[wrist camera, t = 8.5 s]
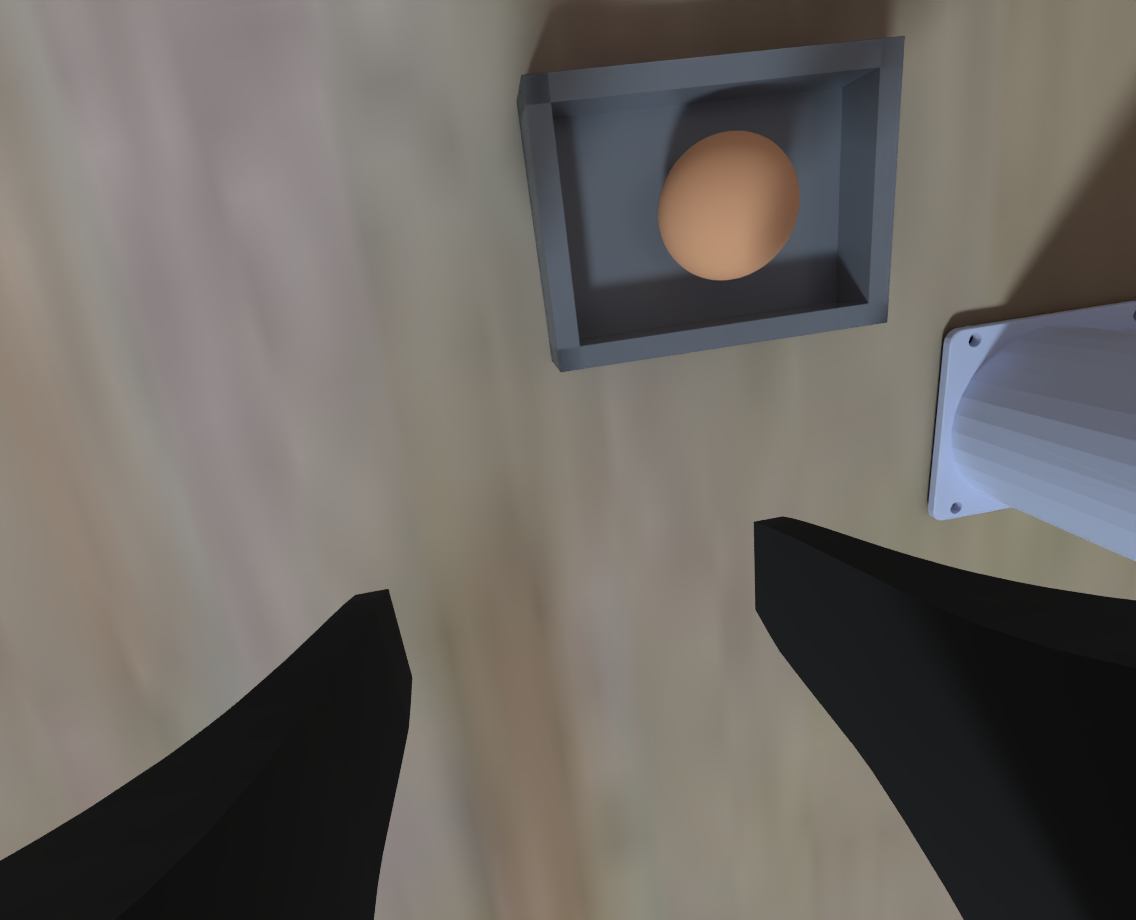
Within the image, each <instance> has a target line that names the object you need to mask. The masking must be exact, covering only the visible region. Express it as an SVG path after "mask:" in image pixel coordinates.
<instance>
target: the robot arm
mask: <svg viewBox="0 0 1136 920" xmlns="http://www.w3.org/2000/svg"><path fill="white" fill-rule="evenodd" d="M972 335H973V340H972V342H971V343H970V344H969V339H970V337H971V336H972ZM953 504H954V506H953V507H952V508H951V506H952V505H953ZM1010 507H1013V508H1015V509H1017V510H1020V511H1022V512H1024V513H1027V514H1029V515H1031V516H1033V517H1036V518H1038V519H1040V520H1043V521H1045V522H1047V523H1049V524H1052V525H1054V526H1056V527H1058V528H1061V529H1063V530H1065V531H1068V532H1070V533H1072V534H1074V535H1077V536H1079V537H1081V538H1084V539H1086V540H1088V541H1090V542H1093V543H1095V544H1097V545H1099V546H1102V547H1104V548H1106V549H1109V550H1111V551H1113V552H1115V553H1118V554H1120V555H1122V556H1125V557H1127V558H1129V559H1131V560H1134V561H1136V300H1133V301H1127V302H1120V303H1114V304H1107V305H1101V306H1094V307H1088V308H1082V309H1075V310H1069V311H1062V312H1056V313H1049V314H1043V315H1037V316H1030V317H1024V318H1017V319H1011V320H1004V321H998V322H991V323H985V324H979V325H972V326H966V327H959V328H955V329H953V330H951V331H950V332H949V333H948V334H947V336H946V337H945V340H944V345H943V356H942V366H941V377H940V388H939V398H938V409H937V419H936V430H935V440H934V451H933V461H932V472H931V482H930V493H929V503H928V513H929V514H930V516H932V517H934V518H936V519H938V520H947V519H952V518H958V517H963V516H968V515H974V514H979V513H984V512H989V511H995V510H1000V509H1005V508H1010ZM950 508H951V509H950ZM754 556H755V609H756V611H757V613H758V615H759V617H760V618H761V620H762V622H763V624H764V625H765V627H766V629H767V631H768V633H769V634H770V636H771V638H772V639H773V641H774V643H775V644H776V646H777V647H778V649H779V651H780V652H781V653H782V655H783V656H784V657H785V659H786V660H787V661H788V663H789V664H790V665H791V667H792V668H793V669H794V670H795V672H796V673H797V674H798V676H799V677H800V678H801V680H802V681H803V682H804V683H805V685H806V686H807V687H808V688H809V690H810V691H811V692H812V693H813V695H814V696H815V697H816V699H817V700H818V701H819V702H820V704H821V705H822V706H823V707H824V709H825V710H826V711H827V712H828V714H829V715H830V716H831V717H832V719H833V720H834V721H835V723H836V724H837V725H838V726H839V728H840V729H841V730H842V731H843V733H844V734H845V735H846V736H847V738H848V739H849V740H850V742H851V743H852V744H853V745H854V747H855V748H856V749H857V751H858V752H859V753H860V755H861V756H862V758H863V759H864V760H865V762H866V763H867V764H868V766H869V767H870V769H871V770H872V771H873V773H874V774H875V776H876V778H877V779H878V781H879V782H880V784H881V785H882V787H883V788H884V790H885V792H886V793H887V795H888V796H889V798H890V799H891V801H892V802H893V804H894V805H895V807H896V809H897V810H898V812H899V813H900V815H901V816H902V818H903V819H904V821H905V823H906V824H907V826H908V827H909V829H910V831H911V832H912V834H913V836H914V837H915V839H916V840H917V842H918V844H919V845H920V847H921V849H922V850H923V852H924V853H925V855H926V857H927V858H928V860H929V862H930V863H931V865H932V867H933V868H934V870H935V871H936V873H937V875H938V876H939V878H940V880H941V881H942V883H943V885H944V886H945V888H946V890H947V891H948V893H949V895H950V897H951V898H952V900H953V902H954V903H955V905H956V907H957V909H958V910H959V912H960V914H961V916H962V917H963V919H964V920H1136V600H1128V599H1119V598H1111V597H1104V596H1098V595H1091V594H1085V593H1078V592H1072V591H1065V590H1059V589H1053V588H1047V587H1041V586H1036V585H1030V584H1025V583H1020V582H1015V581H1011V580H1006V579H1001V578H997V577H992V576H988V575H983V574H978V573H974V572H970V571H966V570H962V569H958V568H954V567H950V566H946V565H942V564H939V563H935V562H932V561H928V560H925V559H921V558H917V557H914V556H910V555H907V554H904V553H901V552H897V551H894V550H891V549H888V548H884V547H881V546H878V545H875V544H872V543H869V542H866V541H863V540H860V539H857V538H854V537H851V536H848V535H845V534H842V533H839V532H836V531H833V530H830V529H827V528H823V527H820V526H817V525H814V524H811V523H807V522H804V521H800V520H797V519H793V518H788V517H778V518H772V519H767V520H761V521H756V522H754ZM411 690H412V675H411V671H410V667H409V664H408V660H407V656H406V653H405V649H404V645H403V641H402V638H401V634H400V630H399V627H398V623H397V619H396V615H395V612H394V608H393V604H392V601H391V597H390V593H389V590H388V589H385V590H380V591H374V592H369V593H364V594H358V595H355V596H354V597H352V598H351V599H350V600H349V601H347V602H346V603H345V604H344V605H343V606H342V607H341V608H340V609H339V610H338V611H337V612H335V613H334V614H333V615H332V616H331V617H330V618H329V619H328V620H327V621H326V622H325V623H324V624H323V625H322V626H321V627H320V628H319V629H318V630H317V631H316V632H315V633H314V634H313V635H312V636H310V637H309V638H308V639H307V640H306V641H305V642H304V643H303V644H302V645H301V646H300V647H299V648H298V649H297V650H296V651H295V652H294V653H293V654H292V655H290V656H289V657H288V658H287V659H286V660H285V661H284V662H283V663H282V664H281V665H280V666H278V667H277V668H276V669H275V670H274V671H273V672H272V673H270V674H269V675H268V676H267V677H266V678H265V679H264V680H262V681H261V682H260V683H259V684H258V685H257V686H256V687H254V688H253V689H252V690H251V691H250V692H249V693H248V694H247V695H245V696H244V697H243V698H242V699H241V700H240V701H239V702H237V703H236V704H235V705H234V706H232V707H231V708H230V709H229V710H228V711H226V712H225V713H224V714H223V715H221V716H220V717H219V718H218V719H216V720H215V721H214V722H212V723H211V724H210V725H209V726H207V727H206V728H205V729H203V730H202V731H201V732H199V733H198V734H197V735H195V736H194V737H193V738H191V739H190V740H189V741H187V742H186V743H185V744H183V745H182V746H181V747H179V748H178V749H177V750H175V751H174V752H172V753H171V754H170V755H168V756H167V757H165V758H164V759H163V760H161V761H160V762H158V763H157V764H155V765H154V766H152V767H151V768H149V769H148V770H146V771H145V772H143V773H141V774H140V775H138V776H137V777H135V778H134V779H132V780H131V781H129V782H128V783H126V784H125V785H123V786H122V787H120V788H119V789H117V790H116V791H114V792H113V793H111V794H110V795H108V796H107V797H105V798H104V799H102V800H101V801H99V802H98V803H96V804H95V805H93V806H92V807H90V808H89V809H87V810H85V811H84V812H82V813H81V814H79V815H77V816H76V817H74V818H72V819H71V820H69V821H67V822H66V823H64V824H62V825H61V826H59V827H57V828H56V829H54V830H52V831H51V832H49V833H47V834H46V835H44V836H42V837H41V838H39V839H37V840H36V841H34V842H32V843H30V844H29V845H27V846H25V847H23V848H22V849H20V850H18V851H17V852H15V853H13V854H11V855H10V856H8V857H6V858H4V859H3V860H1V861H0V920H374V913H375V904H376V895H377V887H378V880H379V874H380V868H381V862H382V856H383V851H384V846H385V841H386V836H387V831H388V827H389V822H390V817H391V812H392V808H393V803H394V798H395V793H396V788H397V784H398V779H399V774H400V769H401V764H402V759H403V754H404V749H405V744H406V739H407V734H408V729H409V718H410V706H411Z"/></svg>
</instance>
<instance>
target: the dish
mask: <svg viewBox="0 0 1136 920" xmlns="http://www.w3.org/2000/svg"><path fill="white" fill-rule="evenodd" d="M904 38H905V36H899V37H889V38H879V39H869V40H860V41H850V42H840V43H830V44H821V45H811V46H801V47H791V48H781V49H772V50H762V51H752V52H742V53H732V54H723V55H713V56H703V57H693V58H683V59H674V60H664V61H654V62H644V63H634V64H625V65H615V66H605V67H595V68H585V69H576V70H566V71H556V72H546V73H536V74H527V75H521V80H520V86H519V91H518V97H517V108H518V115H519V122H520V130H521V137H522V144H523V152H524V159H525V166H526V174H527V181H528V188H529V196H530V203H531V210H532V218H533V225H534V232H535V240H536V247H537V254H538V262H539V269H540V277H541V284H542V291H543V299H544V306H545V313H546V321H547V328H548V335H549V343H550V350H551V357H552V362H553V363H554V364H555V366H556V367H557V368H558V369H559V371H560V372H565V371H571V370H578V369H584V368H591V367H597V366H604V365H611V364H617V363H624V362H630V361H637V360H643V359H650V358H657V357H663V356H670V355H676V354H683V353H689V352H696V351H702V350H709V349H716V348H722V347H729V346H735V345H742V344H748V343H755V342H761V341H768V340H775V339H781V338H788V337H794V336H801V335H807V334H814V333H820V332H827V331H834V330H840V329H847V328H853V327H860V326H866V325H873V324H879V323H886V322H887V317H888V301H889V284H890V268H891V251H892V235H893V219H894V202H895V186H896V169H897V153H898V137H899V120H900V104H901V88H902V71H903V55H904ZM726 131H748V132H752V133H756V134H759V135H762V136H764V137H766V138H768V139H769V140H771V141H772V142H774V143H775V144H776V145H778V146H779V147H780V148H781V149H782V150H783V152H784V153H785V154H786V155H787V157H788V158H789V160H790V161H791V163H792V165H793V167H794V169H795V172H796V175H797V178H798V182H799V189H800V205H799V211H798V216H797V220H796V223H795V226H794V228H793V231H792V233H791V235H790V237H789V239H788V240H787V242H786V244H785V245H784V246H783V248H782V249H781V250H780V251H779V253H778V254H777V255H776V256H775V257H774V258H773V259H772V260H771V261H770V262H768V263H767V264H766V265H765V266H763V267H762V268H760V269H759V270H757V271H755V272H753V273H751V274H749V275H746V276H744V277H741V278H736V279H731V280H710V279H706V278H702V277H699V276H696V275H694V274H692V273H690V272H689V271H687V270H686V269H684V268H683V267H682V266H680V265H679V264H678V263H677V262H676V261H675V260H674V259H673V257H672V256H671V255H670V253H669V252H668V250H667V248H666V246H665V245H664V242H663V240H662V237H661V233H660V229H659V223H658V205H659V198H660V194H661V190H662V187H663V185H664V182H665V180H666V178H667V176H668V174H669V172H670V170H671V169H672V167H673V166H674V164H675V163H676V162H677V160H678V159H679V158H680V157H681V156H682V155H683V154H684V153H685V152H686V151H687V150H688V149H689V148H690V147H692V146H693V145H695V144H696V143H697V142H699V141H701V140H703V139H705V138H707V137H709V136H711V135H714V134H717V133H721V132H726Z"/></svg>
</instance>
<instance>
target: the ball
mask: <svg viewBox="0 0 1136 920" xmlns="http://www.w3.org/2000/svg"><path fill="white" fill-rule="evenodd" d="M799 205H800V189H799V182H798V178H797V175H796V172H795V169H794V167H793V165H792V163H791V161H790V160H789V158H788V157H787V155H786V154H785V153H784V152H783V150H782V149H781V148H780V147H779V146H778V145H776V144H775V143H774V142H772V141H771V140H769V139H768V138H766V137H764V136H762V135H759V134H756V133H752V132H748V131H726V132H721V133H717V134H714V135H711V136H709V137H707V138H705V139H703V140H701V141H699V142H697V143H696V144H695V145H693V146H692V147H690V148H689V149H688V150H687V151H686V152H685V153H684V154H683V155H682V156H681V157H680V158H679V159H678V160H677V162H676V163H675V164H674V166H673V167H672V169H671V170H670V172H669V174H668V176H667V178H666V180H665V182H664V185H663V187H662V190H661V194H660V198H659V205H658V223H659V229H660V233H661V237H662V240H663V242H664V245H665V246H666V248H667V250H668V252H669V253H670V255H671V256H672V257H673V259H674V260H675V261H676V262H677V263H678V264H679V265H680V266H682V267H683V268H684V269H686V270H687V271H689V272H690V273H692V274H694V275H696V276H699V277H702V278H706V279H710V280H731V279H736V278H741V277H744V276H746V275H749V274H751V273H753V272H755V271H757V270H759V269H760V268H762V267H763V266H765V265H766V264H767V263H768V262H770V261H771V260H772V259H773V258H774V257H775V256H776V255H777V254H778V253H779V251H780V250H781V249H782V248H783V246H784V245H785V244H786V242H787V240H788V239H789V237H790V235H791V233H792V231H793V228H794V226H795V223H796V220H797V216H798V211H799Z"/></svg>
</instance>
